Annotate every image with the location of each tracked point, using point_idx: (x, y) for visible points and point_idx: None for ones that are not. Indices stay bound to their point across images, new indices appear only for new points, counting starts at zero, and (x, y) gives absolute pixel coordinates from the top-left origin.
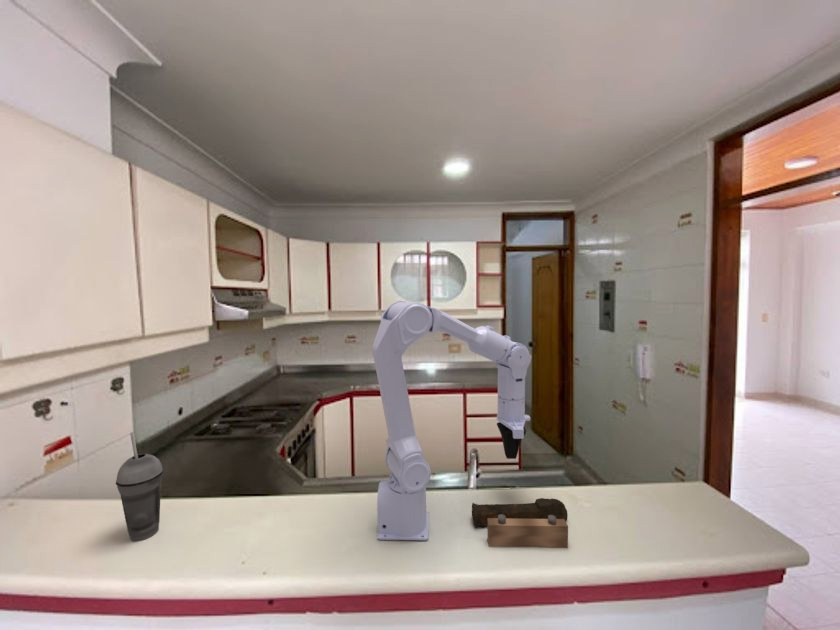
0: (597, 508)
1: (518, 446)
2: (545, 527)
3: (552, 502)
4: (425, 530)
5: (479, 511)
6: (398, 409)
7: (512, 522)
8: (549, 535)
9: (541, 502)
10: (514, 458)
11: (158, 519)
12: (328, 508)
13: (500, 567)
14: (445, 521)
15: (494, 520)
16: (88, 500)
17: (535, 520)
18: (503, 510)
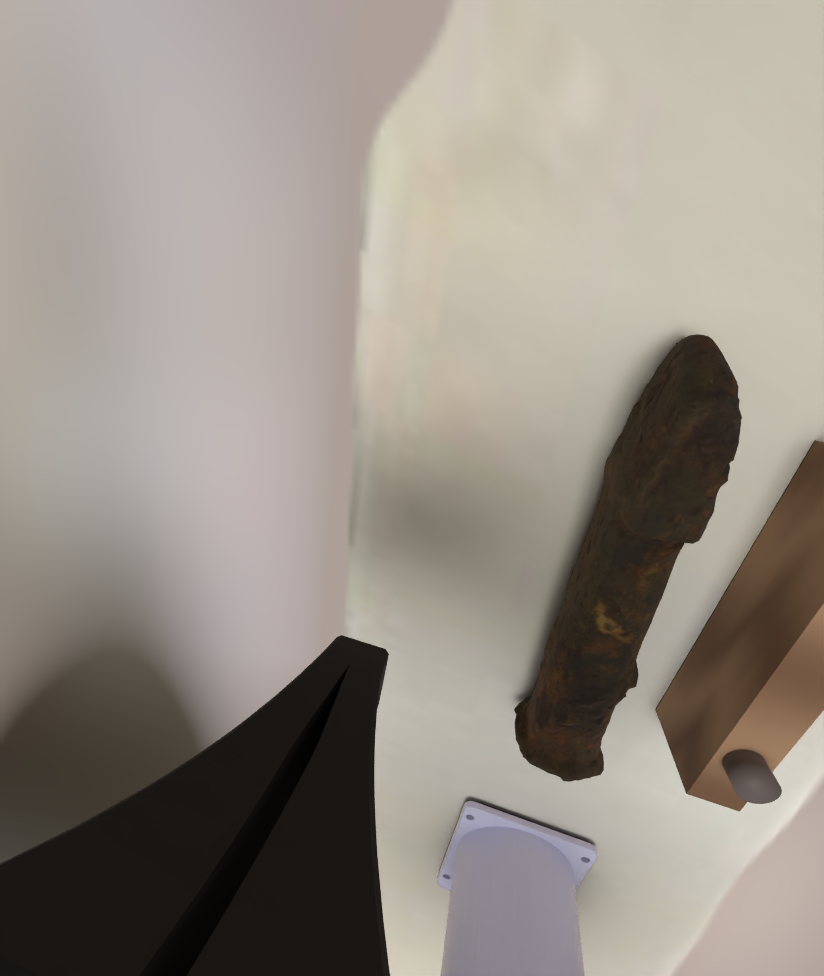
0: (646, 25)
1: (371, 759)
2: None
3: (719, 459)
4: (559, 844)
5: (592, 763)
6: None
7: (774, 732)
8: None
9: (678, 518)
10: (386, 662)
11: None
12: (390, 942)
13: (821, 739)
14: (515, 772)
15: (716, 779)
16: None
17: (821, 634)
18: (625, 687)
